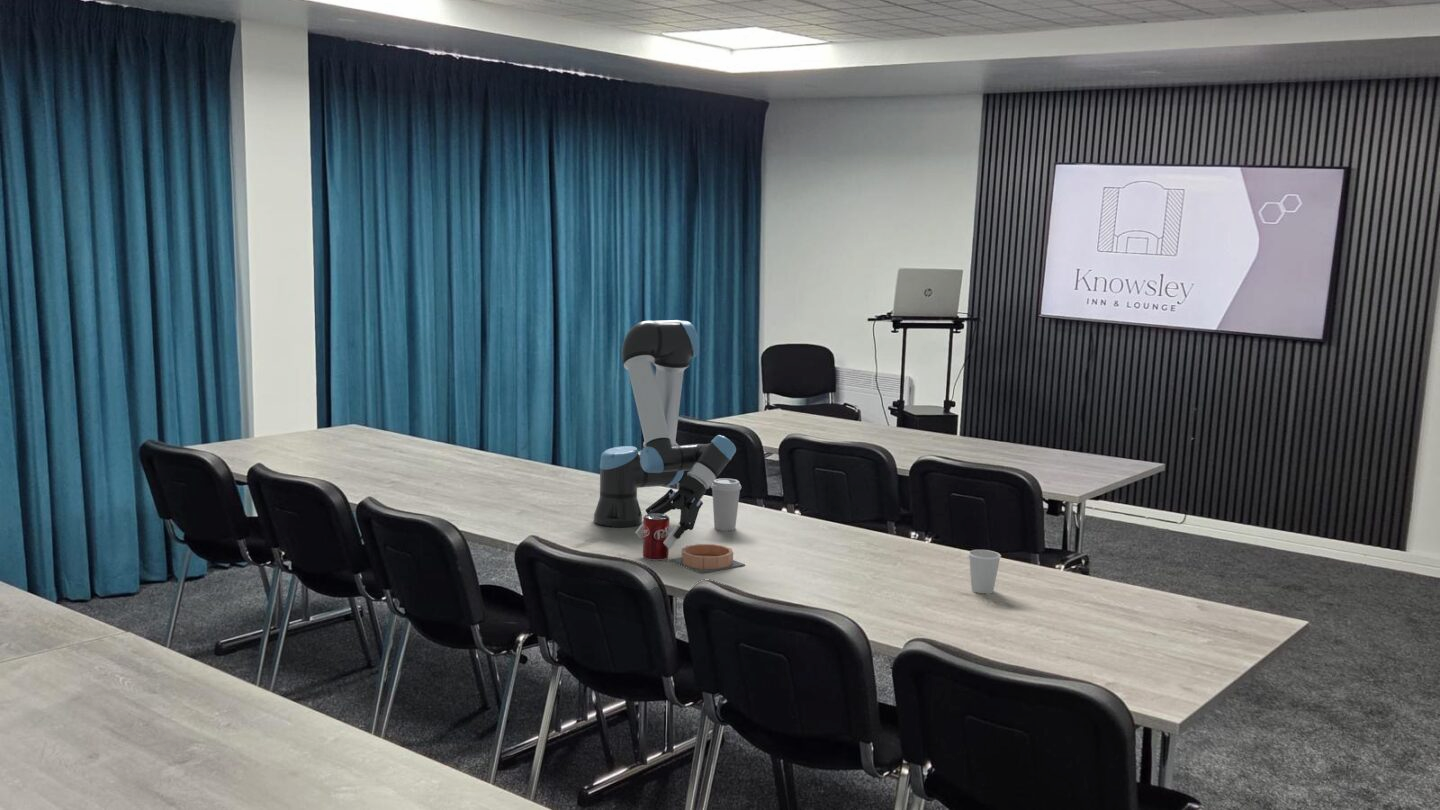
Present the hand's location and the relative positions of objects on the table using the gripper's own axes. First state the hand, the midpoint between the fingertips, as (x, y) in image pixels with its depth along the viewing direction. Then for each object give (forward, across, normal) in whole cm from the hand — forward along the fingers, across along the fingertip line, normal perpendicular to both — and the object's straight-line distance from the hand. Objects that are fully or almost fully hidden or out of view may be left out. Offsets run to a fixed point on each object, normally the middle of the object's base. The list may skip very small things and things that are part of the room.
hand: (652, 540), depth 331 cm
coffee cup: (-24, +17, -32) cm, 44 cm away
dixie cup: (-36, -71, -44) cm, 91 cm away
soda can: (+3, 0, -5) cm, 6 cm away
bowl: (-4, -12, -11) cm, 16 cm away
